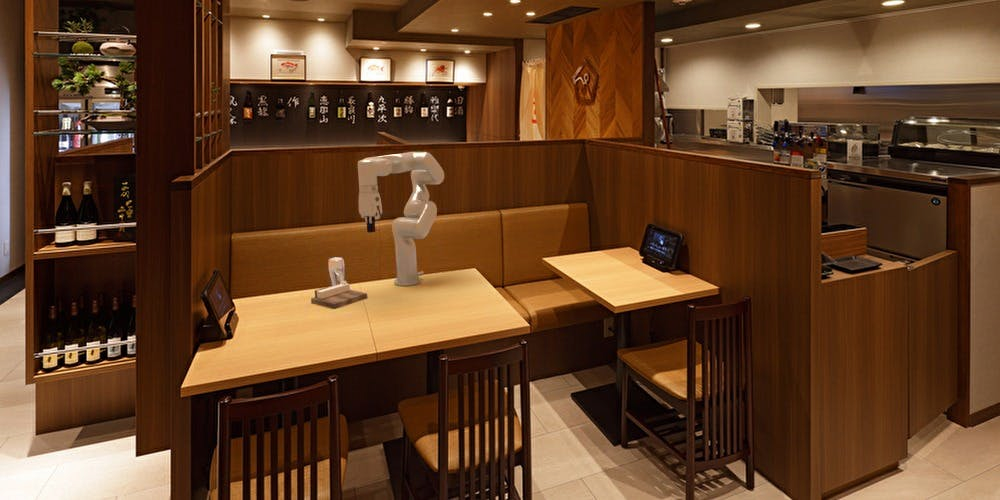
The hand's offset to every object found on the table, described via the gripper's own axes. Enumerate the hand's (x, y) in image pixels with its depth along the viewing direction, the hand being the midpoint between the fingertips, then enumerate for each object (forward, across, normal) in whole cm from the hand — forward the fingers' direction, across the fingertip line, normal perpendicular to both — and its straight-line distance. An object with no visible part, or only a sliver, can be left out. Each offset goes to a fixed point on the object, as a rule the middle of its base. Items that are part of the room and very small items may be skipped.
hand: (371, 231), depth 243 cm
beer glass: (+29, +22, +3) cm, 37 cm away
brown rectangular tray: (+29, +10, +12) cm, 33 cm away
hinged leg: (+27, +13, +12) cm, 32 cm away
